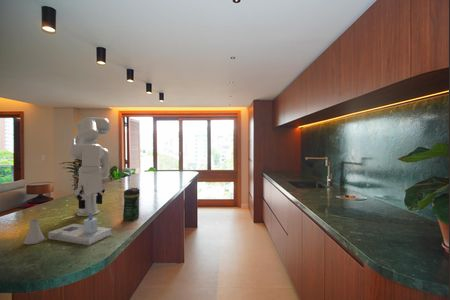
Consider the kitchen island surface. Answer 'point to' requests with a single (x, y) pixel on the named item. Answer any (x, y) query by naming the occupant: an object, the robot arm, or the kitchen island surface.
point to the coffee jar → (131, 204)
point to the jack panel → (78, 234)
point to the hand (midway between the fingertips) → (90, 206)
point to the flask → (34, 233)
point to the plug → (90, 225)
